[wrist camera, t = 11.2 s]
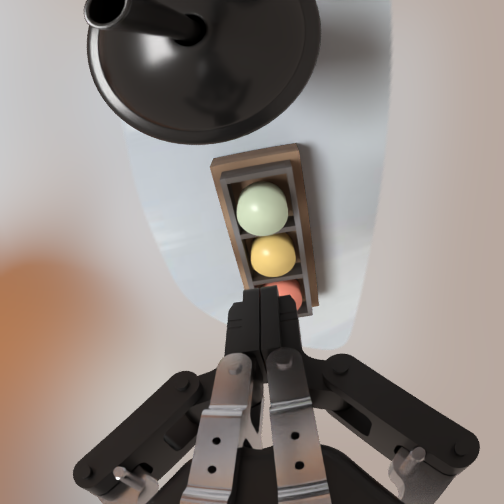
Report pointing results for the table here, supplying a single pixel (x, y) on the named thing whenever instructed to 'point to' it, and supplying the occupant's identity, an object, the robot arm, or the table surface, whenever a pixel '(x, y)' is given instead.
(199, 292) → the table surface
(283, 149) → the toy traffic light
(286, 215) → the button sage
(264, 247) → the button ochre
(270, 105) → the drinking cup
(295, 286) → the button coral
